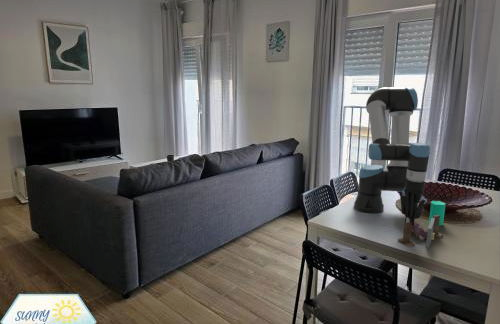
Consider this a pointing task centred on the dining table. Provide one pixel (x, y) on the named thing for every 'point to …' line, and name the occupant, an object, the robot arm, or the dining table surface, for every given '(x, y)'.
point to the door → (430, 232)
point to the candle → (437, 210)
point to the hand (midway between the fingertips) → (408, 231)
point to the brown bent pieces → (407, 232)
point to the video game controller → (419, 230)
